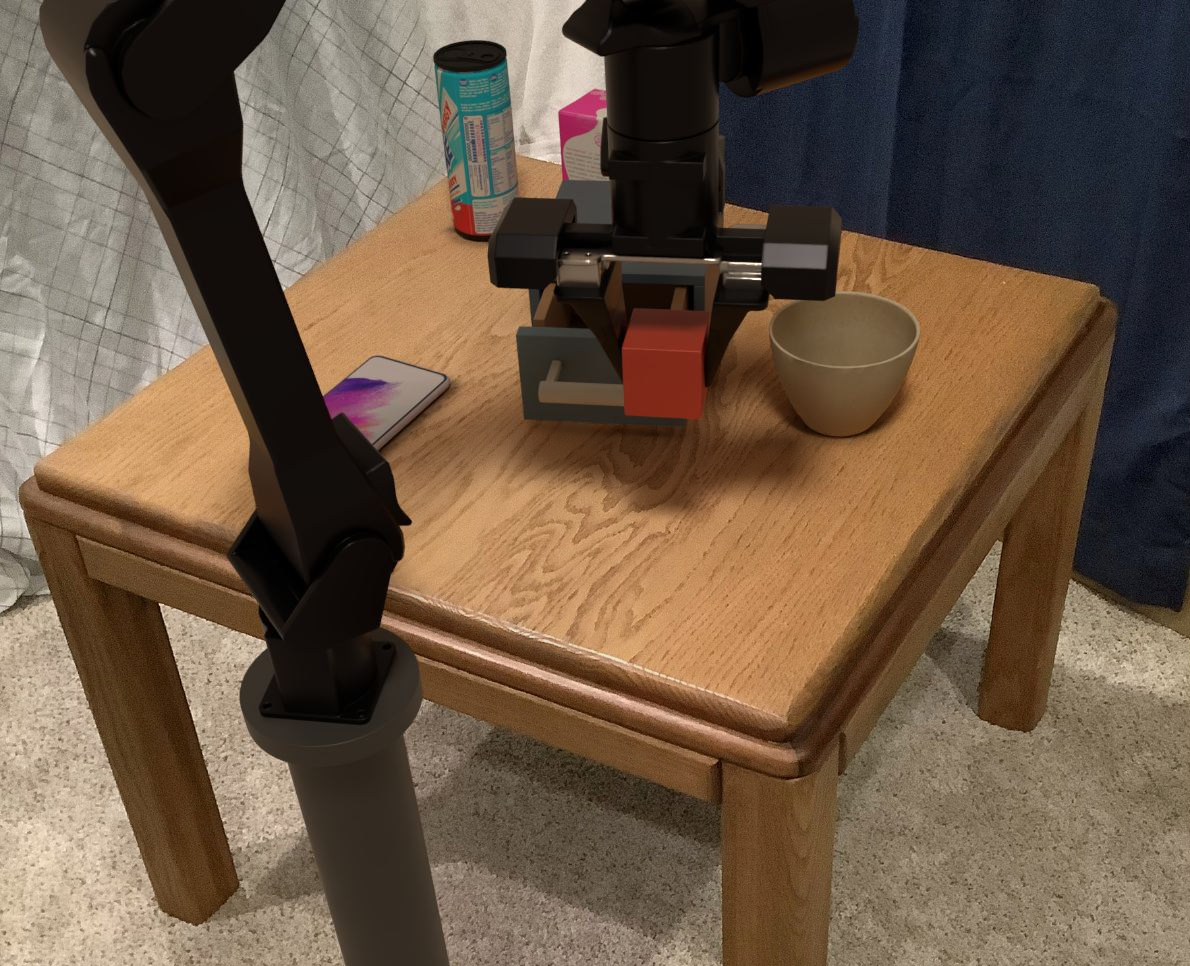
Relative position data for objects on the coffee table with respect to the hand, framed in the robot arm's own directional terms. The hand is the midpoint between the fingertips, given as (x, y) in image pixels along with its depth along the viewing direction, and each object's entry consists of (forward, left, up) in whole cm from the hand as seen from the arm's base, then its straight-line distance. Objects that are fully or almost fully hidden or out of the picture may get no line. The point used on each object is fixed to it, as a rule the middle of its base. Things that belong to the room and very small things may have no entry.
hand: (668, 381), depth 83 cm
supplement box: (+41, +10, -12) cm, 43 cm away
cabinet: (+26, +6, -12) cm, 29 cm away
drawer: (+16, +6, -11) cm, 20 cm away
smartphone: (+11, +24, -12) cm, 29 cm away
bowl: (+15, -10, -12) cm, 21 cm away
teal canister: (+42, +21, -12) cm, 48 cm away
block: (0, 0, -1) cm, 1 cm away
